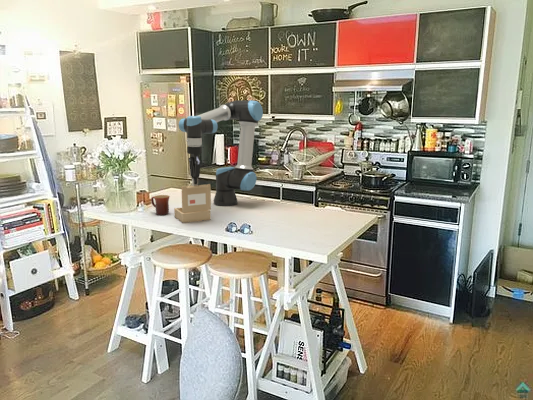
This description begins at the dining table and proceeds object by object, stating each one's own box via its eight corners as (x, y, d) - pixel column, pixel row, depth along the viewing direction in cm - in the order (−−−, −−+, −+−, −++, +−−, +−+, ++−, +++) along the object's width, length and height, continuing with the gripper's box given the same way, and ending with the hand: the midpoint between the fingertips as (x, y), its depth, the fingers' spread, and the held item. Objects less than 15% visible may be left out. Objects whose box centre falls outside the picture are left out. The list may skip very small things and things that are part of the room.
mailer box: (201, 213, 259) (201, 205, 258) (210, 219, 247) (210, 210, 246) (174, 216, 252) (174, 208, 251) (182, 223, 240) (182, 214, 239)
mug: (173, 213, 260) (172, 195, 258) (163, 216, 252) (162, 198, 250) (157, 210, 265) (156, 193, 263) (147, 213, 258) (146, 196, 255)
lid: (209, 184, 243) (212, 185, 240) (210, 209, 246) (213, 210, 243) (181, 186, 236) (183, 187, 232) (182, 212, 238) (184, 214, 235)
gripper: (183, 145, 239) (184, 188, 244) (191, 147, 228) (192, 192, 233) (197, 144, 243) (197, 187, 248) (205, 147, 231) (205, 191, 237)
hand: (195, 190), depth 240 cm, fingers closed
